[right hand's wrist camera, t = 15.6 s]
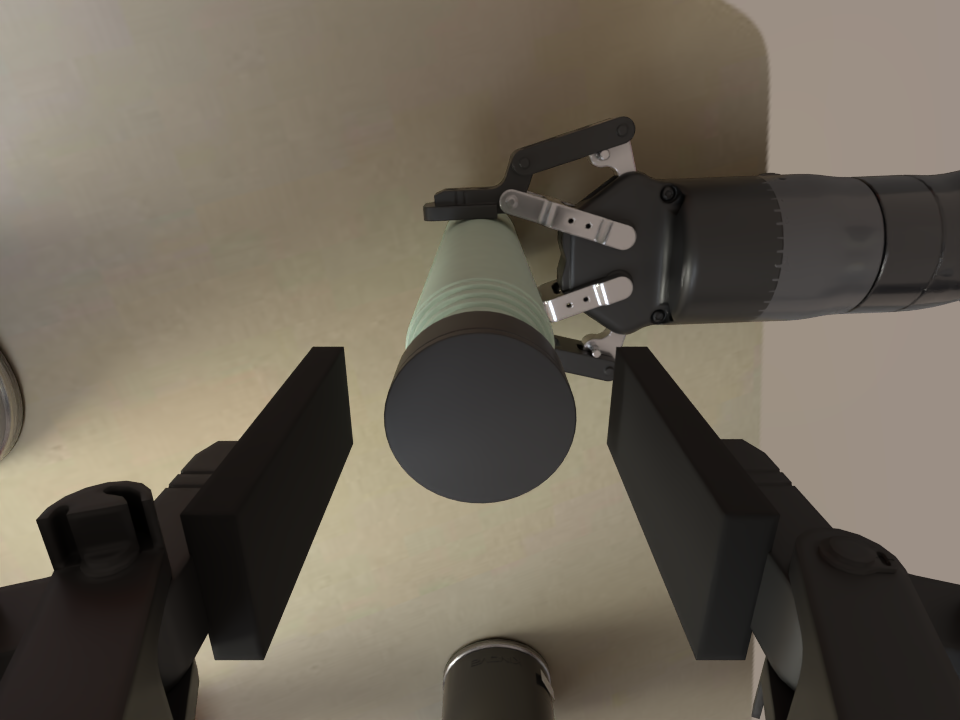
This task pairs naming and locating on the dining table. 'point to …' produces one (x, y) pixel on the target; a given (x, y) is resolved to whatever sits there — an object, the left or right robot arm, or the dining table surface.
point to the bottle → (480, 277)
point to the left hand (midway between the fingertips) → (430, 262)
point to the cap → (480, 408)
